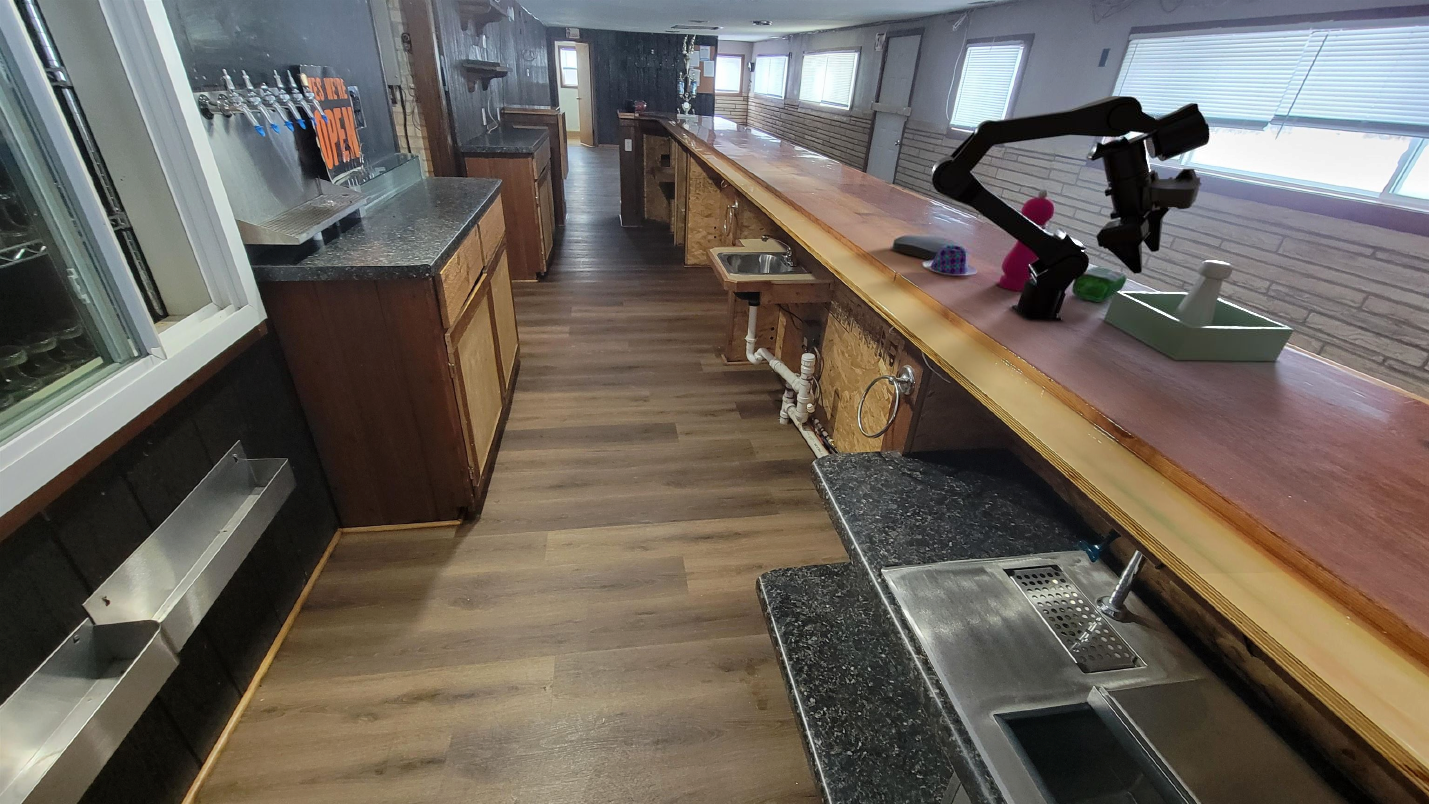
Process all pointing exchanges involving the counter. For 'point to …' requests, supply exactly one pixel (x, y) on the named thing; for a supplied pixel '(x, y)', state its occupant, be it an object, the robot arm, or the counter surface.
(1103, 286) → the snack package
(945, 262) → the patterned bucket hat
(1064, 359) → the counter surface
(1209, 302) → the salt shaker
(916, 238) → the media streaming box
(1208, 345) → the bin
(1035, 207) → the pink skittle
